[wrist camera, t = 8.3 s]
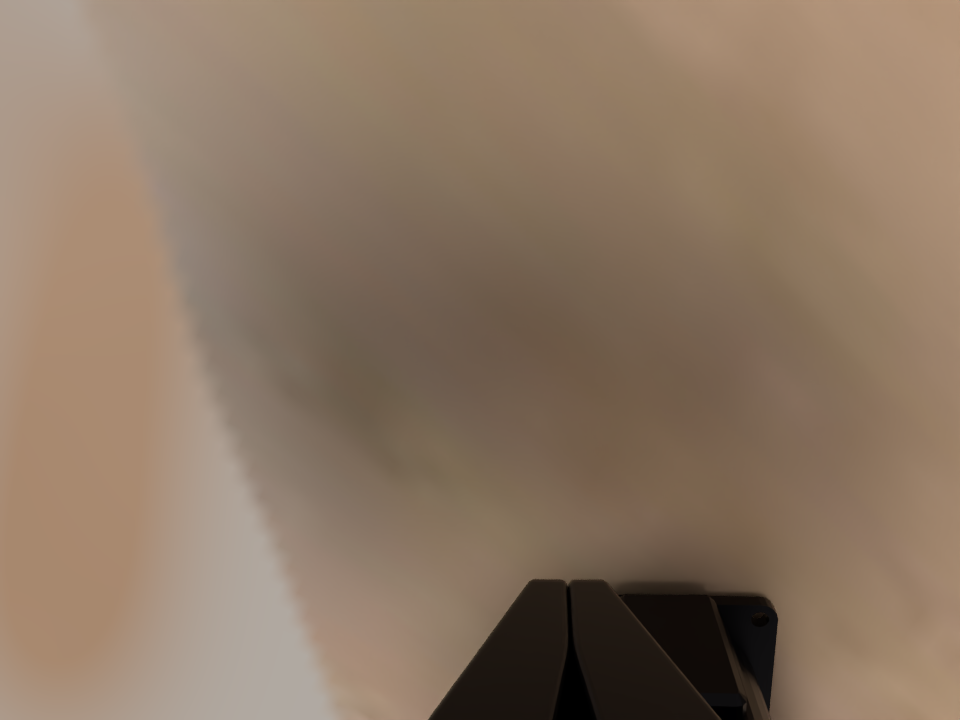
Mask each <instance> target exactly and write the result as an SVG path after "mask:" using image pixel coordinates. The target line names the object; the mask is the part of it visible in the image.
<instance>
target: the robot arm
mask: <svg viewBox="0 0 960 720" xmlns="http://www.w3.org/2000/svg"><path fill="white" fill-rule="evenodd" d="M759 612H762V613H765V614H764V615H763V616H762V617H760V618H753V617H752V616H753V615H754V614H756V613H759ZM777 624H778V617H777V613H776V611H775V609H774V606H773V605H772V603H771V602H770V601H769V600H767V599H766V598H763V597H745V596H707V595H651V594H625V595H617V594H616V592H615V591H614V590H613V589H612V588H611V586H610V585H609V584H608V583H607V582H606V581H604V580H572V581H570V583H569V584H568V586H567V583H566V582H565V581H564V580H561V579H533V580H531V581H529V583H528V584H527V585H526V587H525V588H524V589H523V591H522V592H521V593H520V595H519V596H518V597H517V599H516V600H515V602H514V603H513V604H512V606H511V607H510V608H509V610H508V611H507V612H506V614H505V615H504V617H503V618H502V619H501V621H500V622H499V623H498V625H497V626H496V627H495V629H494V630H493V632H492V633H491V634H490V636H489V637H488V638H487V640H486V641H485V642H484V644H483V645H482V647H481V648H480V649H479V651H478V652H477V653H476V655H475V656H474V658H473V659H472V660H471V662H470V663H469V664H468V666H467V667H466V668H465V670H464V671H463V673H462V674H461V675H460V677H459V678H458V679H457V681H456V682H455V683H454V685H453V686H452V688H451V689H450V690H449V692H448V693H447V694H446V696H445V697H444V698H443V700H442V701H441V703H440V704H439V705H438V707H437V708H436V709H435V711H434V712H433V713H432V715H431V716H430V718H429V719H428V720H771V718H770V715H769V708H770V697H771V687H772V676H773V666H774V655H775V645H776V635H777Z"/></svg>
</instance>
